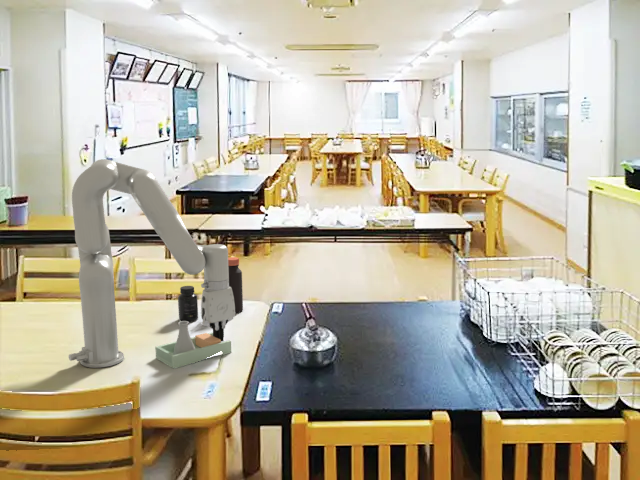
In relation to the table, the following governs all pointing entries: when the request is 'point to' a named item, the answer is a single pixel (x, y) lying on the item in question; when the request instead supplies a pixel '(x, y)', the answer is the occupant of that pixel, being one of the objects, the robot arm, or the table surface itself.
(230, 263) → the vinegar
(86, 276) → the robot arm
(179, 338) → the flask
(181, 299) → the supplement bottle
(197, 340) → the block
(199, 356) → the pale green shallow box
